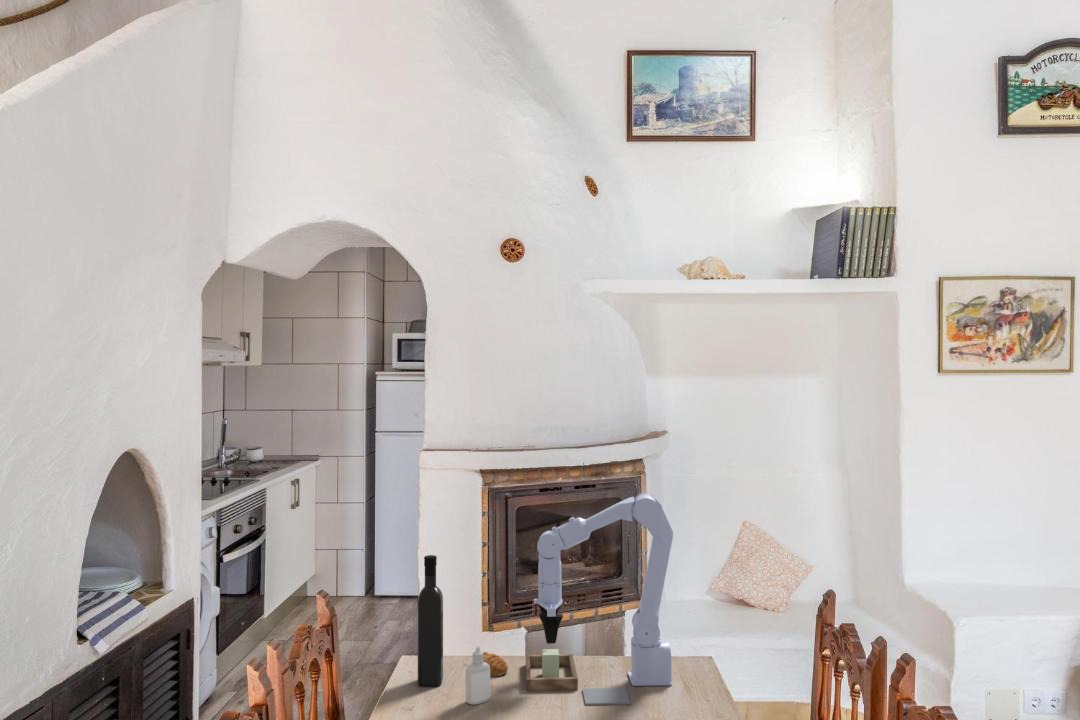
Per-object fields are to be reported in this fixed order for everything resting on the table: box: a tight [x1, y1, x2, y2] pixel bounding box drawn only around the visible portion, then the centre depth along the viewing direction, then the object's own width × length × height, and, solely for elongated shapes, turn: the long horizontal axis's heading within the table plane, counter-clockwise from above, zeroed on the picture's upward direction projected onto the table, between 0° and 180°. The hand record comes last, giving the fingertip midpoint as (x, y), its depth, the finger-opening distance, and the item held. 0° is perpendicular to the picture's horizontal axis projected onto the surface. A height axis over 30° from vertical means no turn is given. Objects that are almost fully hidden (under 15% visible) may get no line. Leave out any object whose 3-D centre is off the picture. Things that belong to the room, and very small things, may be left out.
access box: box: [525, 653, 579, 692], centre depth 178 cm, size 12×16×2 cm
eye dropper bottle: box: [465, 646, 491, 706], centre depth 165 cm, size 4×6×12 cm
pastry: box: [482, 651, 509, 677], centre depth 183 cm, size 9×7×4 cm
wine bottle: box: [417, 554, 444, 687], centre depth 176 cm, size 6×6×30 cm
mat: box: [581, 687, 631, 706], centre depth 166 cm, size 10×8×1 cm
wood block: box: [541, 648, 560, 678], centre depth 178 cm, size 4×4×6 cm
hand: (550, 637), depth 179 cm, fingers open, 7 cm apart
